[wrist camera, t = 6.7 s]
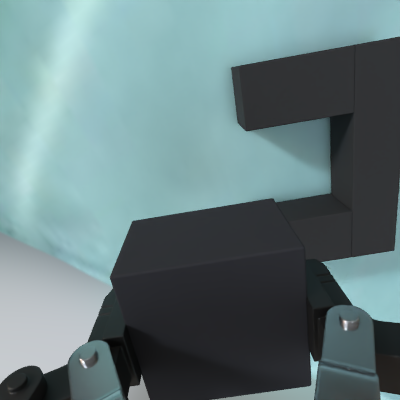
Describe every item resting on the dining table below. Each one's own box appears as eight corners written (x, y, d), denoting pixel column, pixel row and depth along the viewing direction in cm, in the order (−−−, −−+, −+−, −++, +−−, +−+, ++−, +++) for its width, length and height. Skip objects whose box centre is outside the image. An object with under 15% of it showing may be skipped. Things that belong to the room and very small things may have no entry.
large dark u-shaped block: (252, 247, 30) (261, 271, 26) (231, 67, 24) (238, 65, 20) (368, 228, 29) (394, 250, 26) (375, 41, 23) (410, 34, 20)
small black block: (161, 328, 15) (151, 409, 12) (131, 220, 13) (108, 277, 9) (282, 310, 15) (312, 386, 11) (273, 197, 13) (306, 246, 9)
